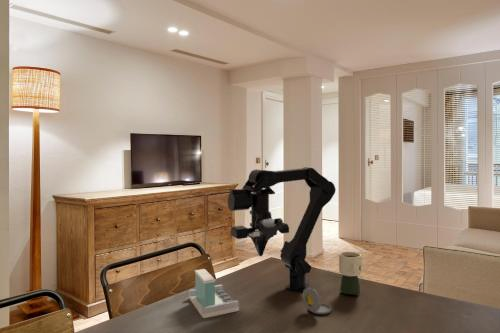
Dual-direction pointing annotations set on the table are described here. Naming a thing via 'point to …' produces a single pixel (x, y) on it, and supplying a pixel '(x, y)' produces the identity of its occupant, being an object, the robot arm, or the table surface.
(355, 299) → the table surface
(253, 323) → the table surface
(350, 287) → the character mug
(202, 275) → the teal and cream panel
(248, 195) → the robot arm
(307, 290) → the pocket watch
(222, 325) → the table surface
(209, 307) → the white slotted tray
